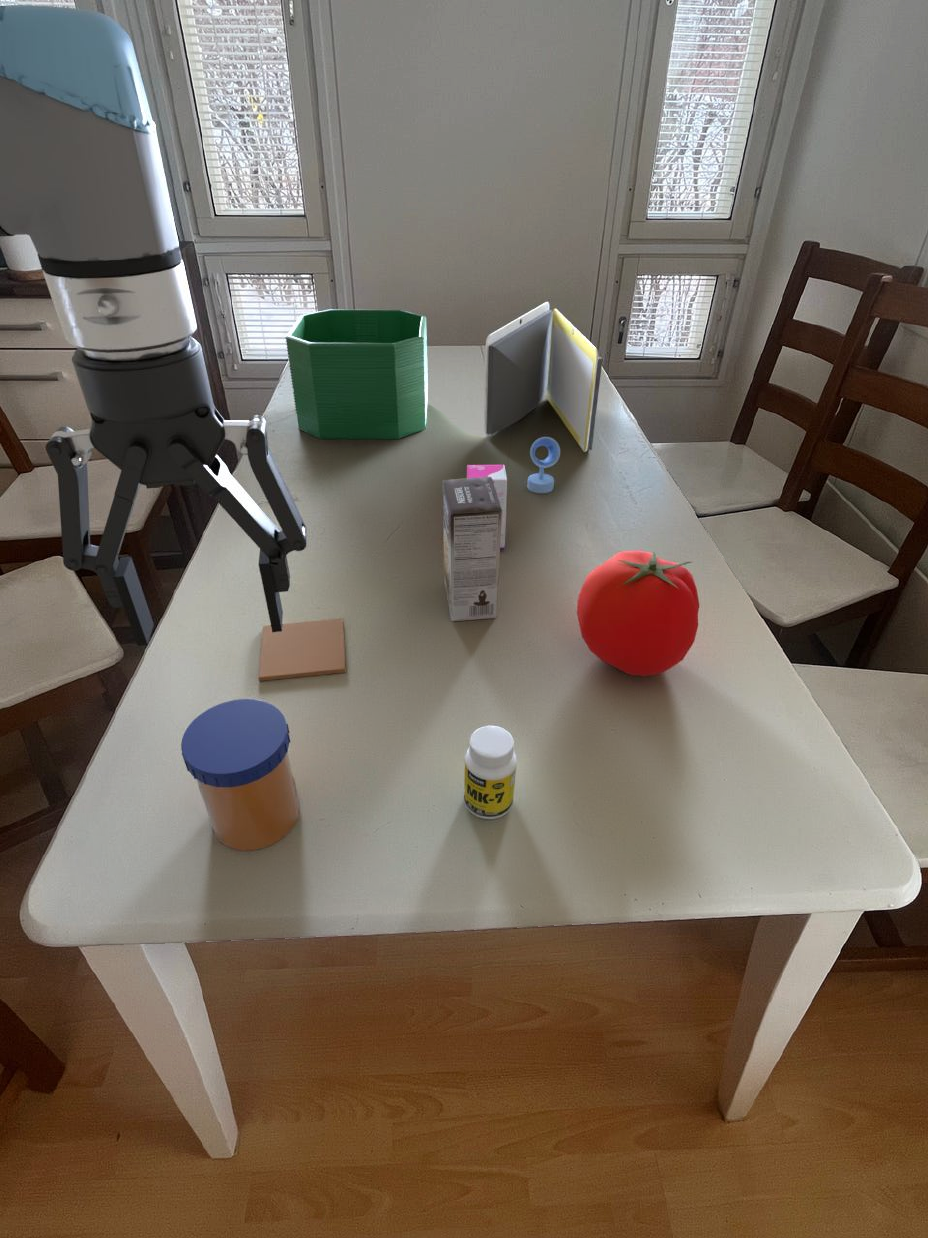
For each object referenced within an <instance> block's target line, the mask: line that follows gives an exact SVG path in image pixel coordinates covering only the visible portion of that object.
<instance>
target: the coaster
mask: <svg viewBox="0 0 928 1238" xmlns="http://www.w3.org/2000/svg"><path fill="white" fill-rule="evenodd" d="M261 636H262V637H261V646H260V657H259V665H258V677H257V679H258V681H259V682H264V681H274V680H275V681H276V680H284V679H285V680H286V679H295V678H303V677H310V676H311V677H312V676H322V675H332V674H333V675H334V674H341V673H346V672H347V670H346V669H347V668H346V666H347V665H346V649H345V647H346V646H345V629H344V618H343V617H339V618H331V619H330V618H329V619H320V620H309V621H299V622H288V623H282V631H281V632H272V628H271V624H267V625H265V624H264V625H263V626H262V635H261Z"/></svg>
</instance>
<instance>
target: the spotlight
mask: <svg viewBox="0 0 928 1238" xmlns="http://www.w3.org/2000/svg"><path fill="white" fill-rule="evenodd" d="M539 447H545V448H546V449H547V451H548V455H547V456H546V458H545V459H538V458H537V457H536V450H537V449H538V448H539ZM529 456H530V459H531V461H532V462H533V464H534V465H536V466H537V467H539V471H538V472H536V473H532V474H530V475H529V476H528V477H527V483H526V485H527V489H528V491H530V492H532V493H535V494H548V493H551V492H552V491H553V490H554V485H555V478H554V477H553V476H552V475H551V474H548V473H545V468H547V469H548V468H550V467H553V466H554V465H555V464H557V462H558V461H559V459H560V457H561V448H560V445H559V443H558V442H557V440H555V439H554V438H553V437H550V436H541V437H539V438H537V439H536V440H535V441H533V443H532V444H531V446H530V450H529Z"/></svg>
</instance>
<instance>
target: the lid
mask: <svg viewBox="0 0 928 1238" xmlns="http://www.w3.org/2000/svg"><path fill="white" fill-rule="evenodd" d="M180 743H181V744H180V746H181V747H180V749H181V756H182V758H183V759H182V760H183V762H184V764H185V768H186V770H187V772H189V773H190V774H191V776H192V777H193V779H194V780H196V779H197V780H199V781H200V782H202V783H204V784H205V785H206V784H207V785H210V786H215V787H236V786H241V785H246V784H249V783H252V782H254V781H256V780H259V779H261V778H262V777H264V776H266V775H267V774H269V773H270V772H272V771H273V770H274V769H275V768H276V767H277V766H278V765H279V764H280V763H281V762H282V760H283V759H284V757H285V755H286V753H288V752H289V748H290V743H291V738H290V729H289V724H288V723H287V720H286V717H285V715H284V714H283V713H282V711H281V710H280V709H279V708H278V707H276V706H275V705H273V704H272V703H270V702H267V701H264V700H261V699H255V698H240V699H239V698H238V699H232V700H228V701H225V702H221V703H218V704H215V705H214V706H211V707H210V708H208V709H206V710H204V711H203V712H202V713H200V714H199V715H197V717H195V718H193V720H192V721H191V723H190V724H188V726H187V728H186V729H185V731H184V733H183V736H182V738H181V742H180Z"/></svg>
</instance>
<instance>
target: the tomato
mask: <svg viewBox="0 0 928 1238" xmlns="http://www.w3.org/2000/svg"><path fill="white" fill-rule="evenodd" d="M690 563H692V561H685V562H681V563H678V562H673V561H668V560H665V559H662V558H660V557H658V556H657V554H656V552H655V551H654V552H653V553H651V552H648V551H644V550H643V551H642V550H638V549H637V550H636V549H635V550H626V551H625V550H624V551H619V552H617V553H616V554H614V555H613V556H611V557H610V558H609V559H607V560H606V561H605V562H603V563H602V564H599V565H597V566H596V567H595V568H593V569H592V571H590V572H589V573H588V574H587V575H586V577H585V579H584V581H583V584H582V585H581V586H582V587H581V588H580V591H579V593H578V596H577V601H576V602H577V603H576V616H577V620H578V623H579V629H580V634H581V637H582V639H583V641H584V643H585V644H586V647H587V648H588V649H589V651H590V652H591V653H592V654H594V656H595V657H597V658H598V659H599V660H601V661H602V662H604V663H606V664H608V665H610V666H612V667H613V668H616V669H618V670H620V671H622V672H624V673H626V674H627V675H630V676H643V677H647V676H653V675H658V674H663V673H665V672H666V671H668V670H669V669H671V668H673V667H675V666H677V665H679V663H680V662H682V661H683V660H684V659H685V657H686V656H687V654H688V652H689V651H690V649H692V646H693V644H694V643H695V640H696V636H697V633H698V627H699V610H700V600H699V594H698V587H697V585H696V582H695V579H694V576H693V574H692V573H691V572H690V570H688V569H687V568H686V567H684V566H685V565H687V564H690Z"/></svg>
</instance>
